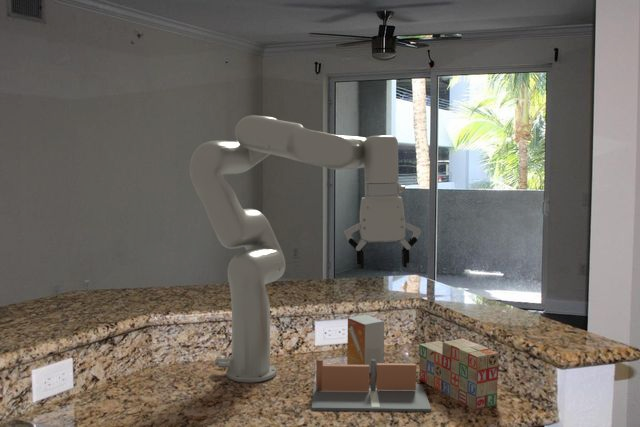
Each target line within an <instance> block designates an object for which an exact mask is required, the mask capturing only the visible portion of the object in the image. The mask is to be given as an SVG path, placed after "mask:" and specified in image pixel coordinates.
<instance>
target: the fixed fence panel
mask: <svg viewBox="0 0 640 427" xmlns="http://www.w3.org/2000/svg"><path fill="white" fill-rule="evenodd" d="M315 370H316V371H315V379H316V380H315V383H316V391H369V384H370V373H369V365H347V364H324V359H322V358H317V359H316V360H315Z"/></svg>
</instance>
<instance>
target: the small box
mask: <svg viewBox="0 0 640 427" xmlns="http://www.w3.org/2000/svg"><path fill="white" fill-rule="evenodd" d="M346 350H347V354H346V355H347V356H346V357H347V358H346V360H347V361H346V362H347V364H346V365H369V374H371V360H372V359H374V360H376V373H377V363H385V321H384V320H382V319H379V318H377V317H374V316H371V315H368V314H363V315H355V316H350V317H347V349H346Z"/></svg>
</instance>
